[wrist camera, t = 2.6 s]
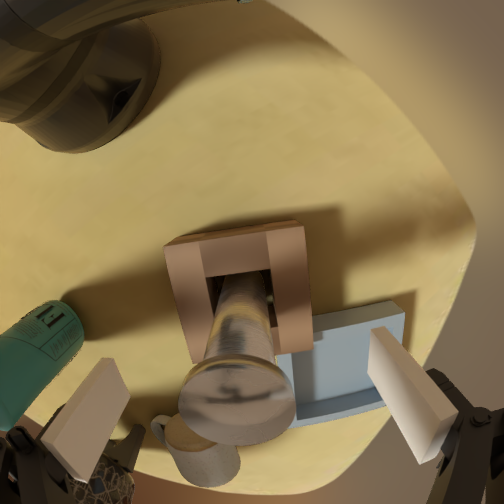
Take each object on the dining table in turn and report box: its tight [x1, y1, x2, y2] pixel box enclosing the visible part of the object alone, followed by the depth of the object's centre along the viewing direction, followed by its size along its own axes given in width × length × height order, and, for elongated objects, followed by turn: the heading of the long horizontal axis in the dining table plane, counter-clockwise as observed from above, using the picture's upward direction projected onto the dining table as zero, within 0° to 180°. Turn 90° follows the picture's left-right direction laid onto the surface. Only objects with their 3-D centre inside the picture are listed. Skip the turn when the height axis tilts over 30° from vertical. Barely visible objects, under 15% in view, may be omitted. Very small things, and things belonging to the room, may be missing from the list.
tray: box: [277, 300, 405, 429], centre depth 24 cm, size 12×12×3 cm
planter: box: [66, 425, 145, 504], centre depth 20 cm, size 13×13×18 cm
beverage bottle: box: [0, 300, 84, 431], centre depth 15 cm, size 6×7×20 cm
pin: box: [178, 270, 296, 446], centre depth 17 cm, size 5×5×15 cm
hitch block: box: [163, 220, 314, 364], centre depth 22 cm, size 10×10×4 cm
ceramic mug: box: [150, 413, 241, 488], centre depth 24 cm, size 11×8×8 cm
